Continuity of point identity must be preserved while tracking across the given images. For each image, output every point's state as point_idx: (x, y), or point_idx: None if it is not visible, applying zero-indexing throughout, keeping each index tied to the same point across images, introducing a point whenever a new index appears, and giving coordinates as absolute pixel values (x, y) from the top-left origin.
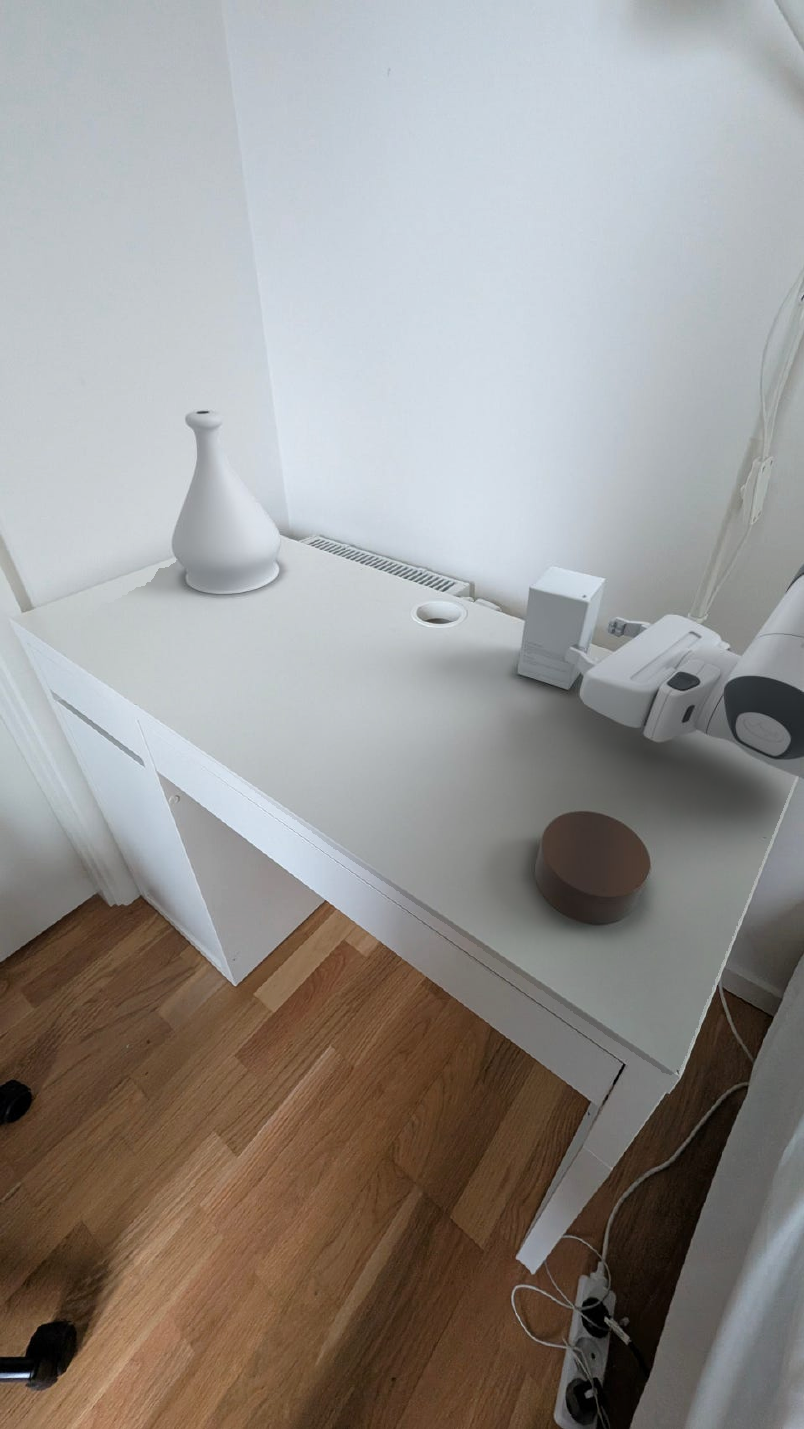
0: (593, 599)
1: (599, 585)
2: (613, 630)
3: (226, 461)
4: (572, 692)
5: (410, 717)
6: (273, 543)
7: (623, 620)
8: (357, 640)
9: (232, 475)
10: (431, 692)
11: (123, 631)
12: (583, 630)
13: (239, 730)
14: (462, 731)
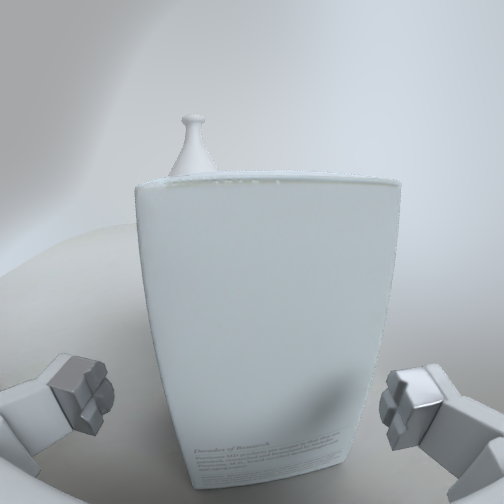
0: (222, 200)
1: (331, 175)
2: (391, 414)
3: (198, 143)
4: (198, 500)
5: (29, 336)
6: None
7: (441, 387)
8: None
9: (198, 151)
10: (80, 336)
11: (101, 232)
12: (168, 338)
13: (11, 280)
14: (8, 379)
